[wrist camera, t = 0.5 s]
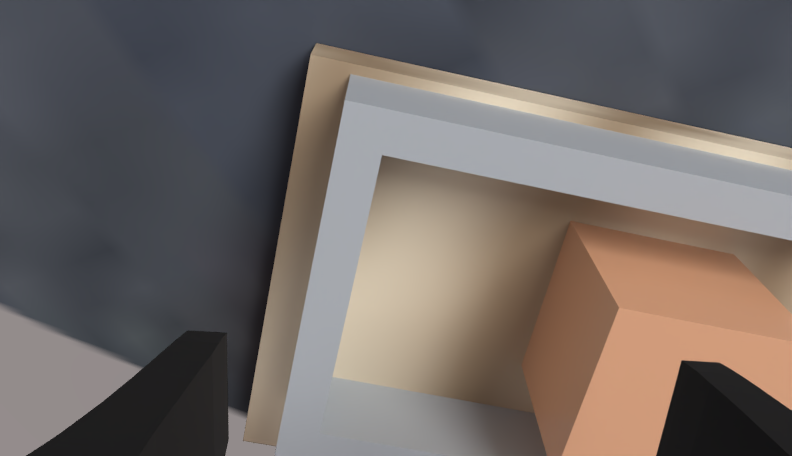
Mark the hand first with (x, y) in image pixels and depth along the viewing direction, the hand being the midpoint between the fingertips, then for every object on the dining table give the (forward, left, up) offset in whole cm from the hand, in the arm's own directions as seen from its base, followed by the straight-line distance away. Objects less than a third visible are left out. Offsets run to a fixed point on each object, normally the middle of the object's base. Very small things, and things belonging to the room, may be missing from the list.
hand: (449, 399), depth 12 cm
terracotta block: (-6, +2, -8) cm, 10 cm away
